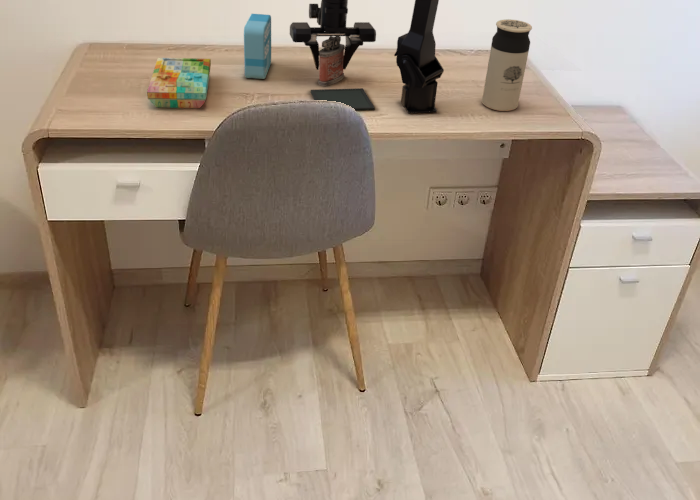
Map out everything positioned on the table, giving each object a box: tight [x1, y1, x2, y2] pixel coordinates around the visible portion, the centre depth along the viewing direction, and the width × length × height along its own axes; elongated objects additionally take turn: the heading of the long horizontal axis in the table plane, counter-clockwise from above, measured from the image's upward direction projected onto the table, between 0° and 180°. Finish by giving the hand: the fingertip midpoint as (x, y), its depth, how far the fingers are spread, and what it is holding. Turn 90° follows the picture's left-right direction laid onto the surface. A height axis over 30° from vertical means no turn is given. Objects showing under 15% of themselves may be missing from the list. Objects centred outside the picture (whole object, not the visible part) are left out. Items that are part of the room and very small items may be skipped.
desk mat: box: [310, 87, 376, 112], centre depth 163 cm, size 12×11×1 cm
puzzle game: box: [146, 57, 212, 109], centre depth 161 cm, size 12×5×20 cm
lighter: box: [317, 36, 346, 87], centre depth 170 cm, size 8×3×10 cm, turn 145°
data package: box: [243, 13, 272, 80], centre depth 172 cm, size 12×4×12 cm, turn 177°
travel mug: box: [481, 18, 533, 112], centre depth 162 cm, size 8×8×18 cm
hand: (330, 69), depth 171 cm, fingers closed on lighter, 6 cm apart
